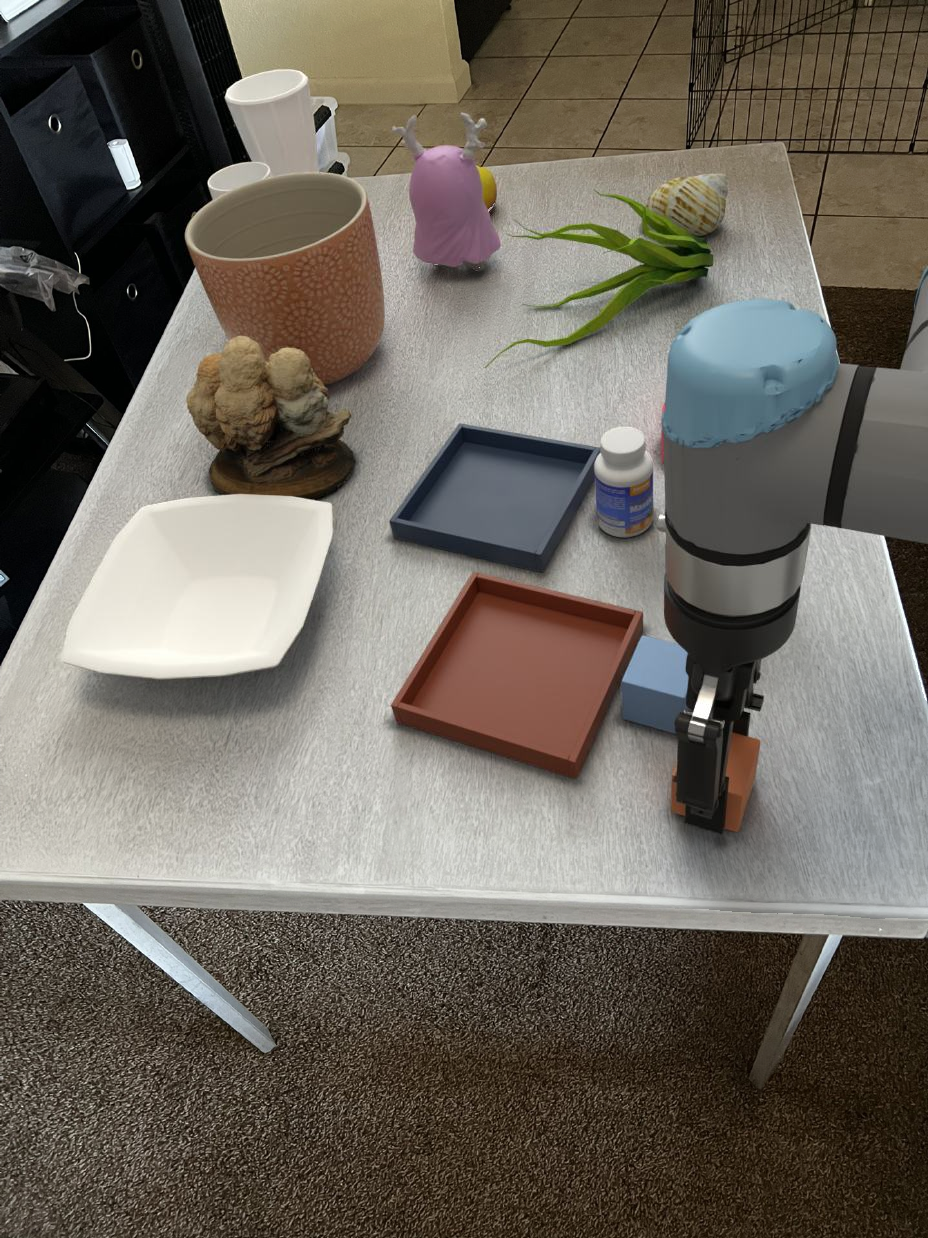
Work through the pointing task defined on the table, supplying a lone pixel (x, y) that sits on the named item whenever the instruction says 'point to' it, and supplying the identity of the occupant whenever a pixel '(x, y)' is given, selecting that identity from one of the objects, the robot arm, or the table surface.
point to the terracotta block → (732, 779)
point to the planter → (294, 268)
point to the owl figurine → (269, 423)
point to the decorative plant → (656, 268)
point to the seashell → (691, 202)
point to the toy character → (449, 201)
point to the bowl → (202, 587)
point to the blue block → (655, 684)
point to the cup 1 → (237, 177)
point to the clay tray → (521, 672)
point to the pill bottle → (624, 483)
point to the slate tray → (497, 496)
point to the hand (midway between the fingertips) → (715, 792)
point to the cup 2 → (276, 120)
